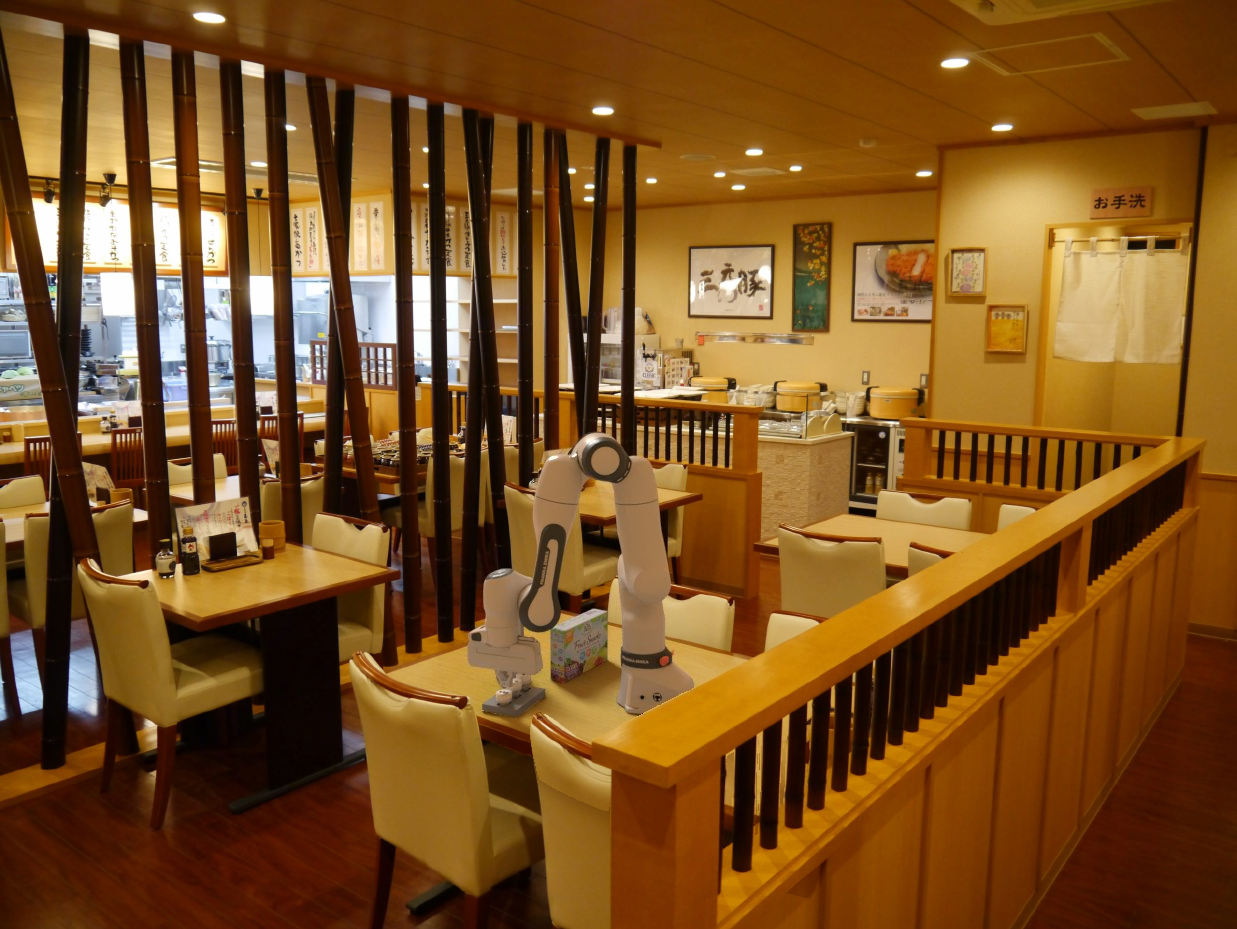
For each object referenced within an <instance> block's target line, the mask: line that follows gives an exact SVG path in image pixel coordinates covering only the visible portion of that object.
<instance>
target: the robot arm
mask: <svg viewBox="0 0 1237 929" xmlns="http://www.w3.org/2000/svg"><path fill="white" fill-rule="evenodd" d="M567 452H568V453H567V454H563V453H559V454H553V455H551V456H549V457H548V458H547V459H546V461H545V462H544V464H543V467H542V470H541V471H540V474H539V478H538V480H537V485H536V487H535V492H534V499H533V505H532V506H533V507H532V524H533V528H534V534H535V539H536V559H535V564H534V570H533V574H532V575H533V576H532V577H531V576H528V575H527V576H526V575H524V574H522V573H519V572H517V571H516V570H514V569H513V568H500V569H497V570H494V571H492V572H490V573H489V574H488V575H487V576H486V577H485V578H484V582H483V593H482V594H483V595H482V596H483V600H482V601H483V609H484V612H485V619H484V624H482V625H480V626H479V627H476V628H475V629H472V630H471V631H470V632H468V634H467V638H468V643H467V648H466V652H467V653H466V655H467V663H468V664H469V665H470V667H472V668H481V669H487V670H494V675H495V677H496V676H497V678H498V679H499V681H498V683H499V687H503V688H506V687H509V688H511V687H512V686H513V678H514V676H515V675H516V673H523V674H530V675H531V676H536V675H537V674H539V673H540V672H541V671H542V670H543V667H544V664H543V663H544V661H543V658H542V655H543V654H542V648H541V646H542V645H541V642H540V641H539V640H538V639H536V637H533V636H526V635H524V636H521V624H520V621H521V623H522V625H523V626H524V629H525V628H526V630H528V631H530V632H533V633H537V634H538V633H546V632H549V631H550V629H552V628H553V627H554V626H556V625H558V624H559V621H560V619H561V615H562V614H561V613H562V608H561V605H560V600H559V596H558V590H559V589H558V588H559V582H560V577H561V570H562V565H563V558H564V553H565V551H566V546H567V543H568V540H569V539H570V538H569V537H570V534H571V531H572V529H573V526H574V522H575V520H576V516H577V513H578V508H579V503H580V498H581V492H582V490H583V486H584V485H585V484H586V482H587V481H588V480H590V478H592V479H594V480H596V481H601V482H604V483H605V482H607V483H611V485H612V489H613V498H614V500H613V501H614V510H615V511H614V512H615V519H616V530H617V537H618V541H619V545H620V550H621V554H620V555H619V557H618V561H617V566H616V567H617V577H618V579H617V580H618V581H617V583H618V592H619V602H620V611H621V629H622V630H621V632H622V633H621V636H622V637H621V638H622V645H621V646H620V647H621V648H620V667H621V677H620V684H619V688H618V693H617V696H616V701H617V704H619V705H620V706H621V707H623V708H624V710H625V711H626V713H627V714H628V713H629V714H637V715H638V714H639V715H643V714H642V713H644V712H646V711H648V710H650V709H652V708H654V707H656V706H657V705H661V704H662V703H664V702H666V701H668V700H670V699H672V698H674V697H676V696H678V695H679V694H681V693H684V692H686V691H689V690H691V689H692V688H694V687H695V682H694V679H693V678H692V676H691V675H689V673H687V672H686V671H684V670H683V669H682V668H681V667H680V666H678V665H677V664H676V663H675V662H673V656H674V655H675V649H672V650H671V651H670V649H669V648H668V647H667V646H666V614H665V610H664V605H663V604H664V603H663V601H664V600H665V599H666V598H667V597H668V595H669V593H670V591H671V588H672V581H671V575H670V570H669V564H668V557H667V551H666V545H665V541H664V536H663V532H662V526H661V514H660V505H659V504H660V503H659V502H660V500H659V494H658V486H657V480H656V477H655V473H654V469H653V465H652V464H651V461H650V460H648V459H647V458H646V457H643V456H640V455H639V456H638V455H630V456H629V455H628V453H627V452H626V451H625V449H624V447H623V445H621V444H620V443H619V442H618V441H617V439H615V438H614V437H613V436H612V435H610V434H608V433H604V432H602V431H598V430H597V431H590V432H587V433H585V434H583V435H582V436H581V437H580V438H579V439H578V440H577V442H575V443H574V445H573V446H572V447H571V449H570V450H569V451H567ZM503 671H507V675H510V676H509V678H505V676H504V674H503ZM695 688H696V687H695Z"/></svg>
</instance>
